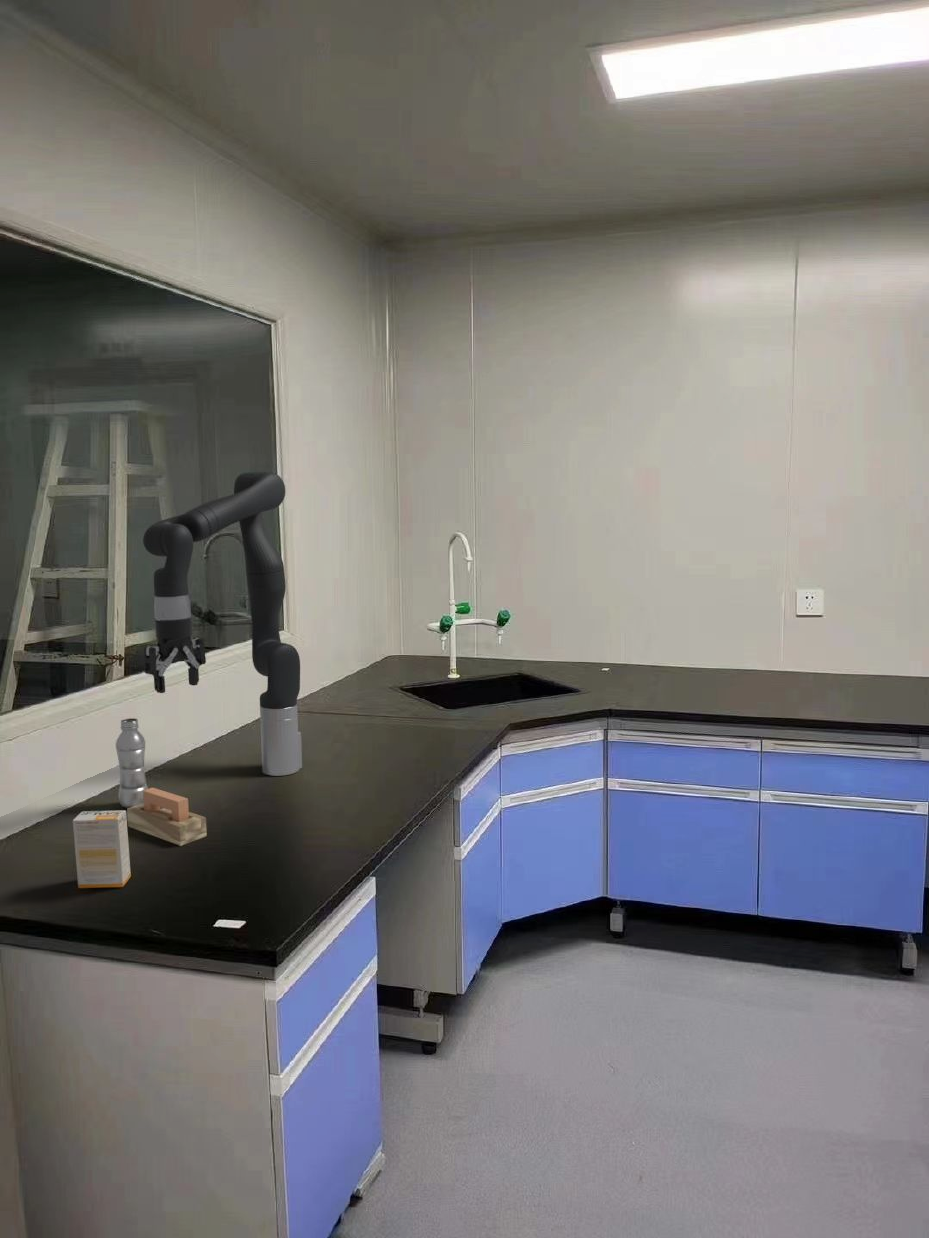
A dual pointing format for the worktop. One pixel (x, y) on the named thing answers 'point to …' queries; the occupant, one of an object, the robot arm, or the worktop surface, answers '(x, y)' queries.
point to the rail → (167, 825)
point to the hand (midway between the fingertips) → (177, 688)
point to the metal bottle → (131, 763)
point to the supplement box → (101, 849)
